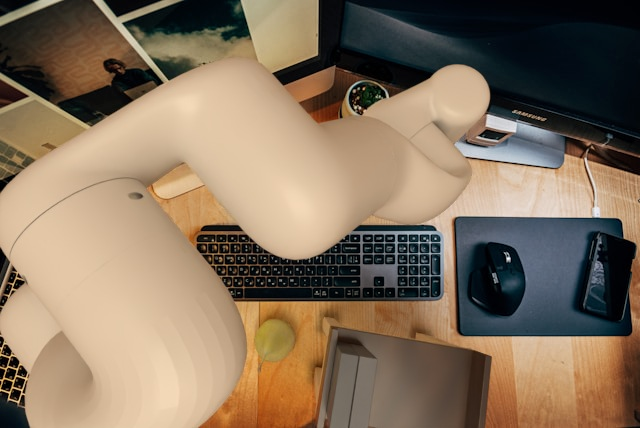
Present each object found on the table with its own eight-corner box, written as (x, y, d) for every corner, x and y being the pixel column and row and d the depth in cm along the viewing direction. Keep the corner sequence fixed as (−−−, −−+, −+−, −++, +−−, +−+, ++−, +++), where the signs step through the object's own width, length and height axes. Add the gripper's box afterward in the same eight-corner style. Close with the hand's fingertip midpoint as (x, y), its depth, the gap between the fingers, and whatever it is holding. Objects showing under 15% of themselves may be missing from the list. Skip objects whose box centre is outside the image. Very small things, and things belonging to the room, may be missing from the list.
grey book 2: (340, 406, 53) (348, 432, 44) (349, 343, 55) (359, 355, 45) (355, 409, 53) (366, 436, 44) (364, 346, 55) (377, 358, 45)
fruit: (301, 327, 77) (301, 334, 65) (283, 368, 76) (279, 383, 64) (267, 311, 77) (260, 315, 65) (248, 352, 76) (238, 363, 64)
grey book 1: (324, 403, 53) (328, 429, 44) (334, 341, 55) (340, 352, 45) (339, 406, 53) (347, 432, 44) (349, 343, 55) (359, 355, 45)
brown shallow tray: (315, 415, 54) (316, 428, 49) (330, 325, 56) (332, 328, 51) (467, 441, 54) (482, 456, 49) (476, 350, 56) (492, 356, 51)
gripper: (412, 68, 62) (388, 117, 80) (395, 184, 59) (374, 208, 77) (464, 77, 63) (428, 124, 80) (449, 193, 60) (416, 215, 77)
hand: (402, 165), depth 79 cm, fingers open, 5 cm apart
